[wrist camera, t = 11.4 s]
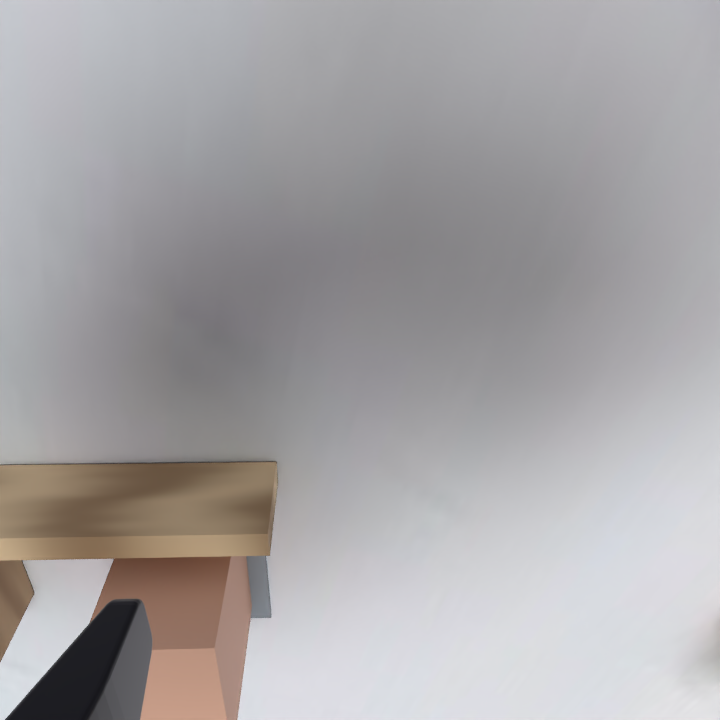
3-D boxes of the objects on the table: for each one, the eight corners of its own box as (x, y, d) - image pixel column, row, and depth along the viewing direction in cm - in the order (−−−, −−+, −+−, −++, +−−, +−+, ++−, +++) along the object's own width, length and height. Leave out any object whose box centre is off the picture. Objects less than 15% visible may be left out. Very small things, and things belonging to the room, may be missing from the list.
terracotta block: (252, 606, 27) (232, 753, 22) (158, 608, 27) (116, 757, 21) (240, 504, 24) (214, 648, 18) (134, 505, 23) (78, 651, 18)
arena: (276, 462, 23) (267, 533, 20) (287, 615, 27) (281, 692, 24) (-44, 465, 22) (-103, 540, 19) (21, 621, 27) (-18, 700, 24)
